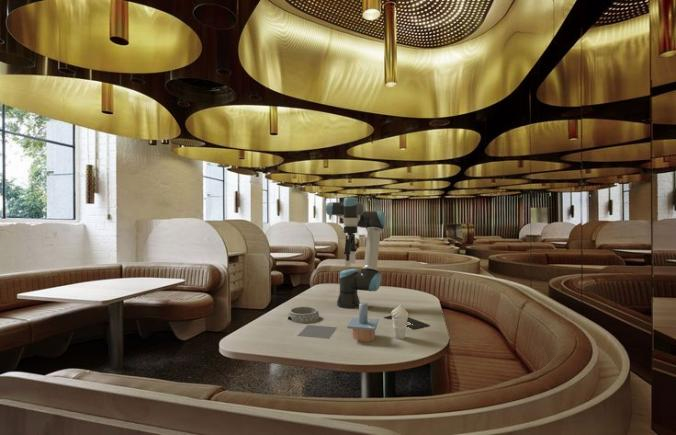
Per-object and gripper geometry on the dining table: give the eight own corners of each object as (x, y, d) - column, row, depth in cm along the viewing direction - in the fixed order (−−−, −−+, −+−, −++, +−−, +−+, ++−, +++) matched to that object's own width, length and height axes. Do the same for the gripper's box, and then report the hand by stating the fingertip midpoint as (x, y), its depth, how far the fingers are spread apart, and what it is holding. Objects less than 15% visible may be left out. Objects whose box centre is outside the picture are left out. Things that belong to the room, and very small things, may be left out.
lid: (352, 319, 163) (352, 299, 163) (378, 321, 160) (378, 301, 160) (347, 328, 150) (347, 306, 150) (375, 330, 147) (375, 308, 147)
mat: (307, 326, 171) (307, 324, 171) (337, 328, 167) (337, 327, 167) (297, 337, 155) (297, 335, 155) (329, 340, 152) (329, 338, 152)
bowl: (354, 332, 162) (354, 320, 162) (376, 334, 159) (376, 322, 159) (349, 340, 151) (349, 327, 151) (373, 342, 148) (373, 329, 148)
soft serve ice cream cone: (398, 341, 149) (398, 307, 149) (387, 336, 157) (387, 303, 157) (412, 338, 153) (412, 305, 153) (401, 333, 161) (401, 301, 161)
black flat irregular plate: (410, 332, 164) (431, 326, 172) (410, 331, 164) (431, 324, 172) (379, 318, 185) (398, 314, 193) (379, 317, 185) (398, 312, 193)
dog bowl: (309, 312, 195) (309, 304, 195) (325, 321, 180) (325, 311, 180) (283, 317, 186) (283, 308, 186) (297, 326, 171) (297, 316, 171)
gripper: (348, 225, 189) (348, 261, 189) (338, 226, 164) (338, 268, 164) (361, 225, 187) (360, 261, 187) (353, 226, 163) (353, 268, 163)
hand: (350, 264), depth 176 cm, fingers open, 13 cm apart
